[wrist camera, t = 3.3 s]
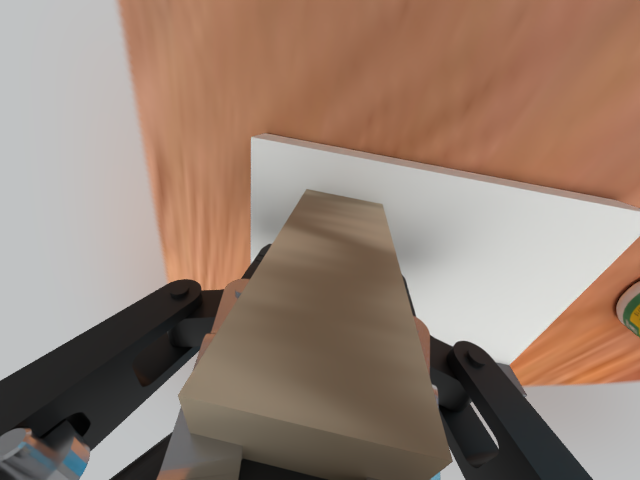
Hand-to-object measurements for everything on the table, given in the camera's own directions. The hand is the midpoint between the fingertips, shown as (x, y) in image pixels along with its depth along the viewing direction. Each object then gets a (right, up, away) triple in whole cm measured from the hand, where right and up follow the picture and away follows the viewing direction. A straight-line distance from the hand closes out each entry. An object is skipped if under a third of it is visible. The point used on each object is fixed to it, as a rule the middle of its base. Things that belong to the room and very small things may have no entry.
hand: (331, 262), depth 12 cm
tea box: (0, +1, +2) cm, 2 cm away
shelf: (+5, 0, +4) cm, 6 cm away
